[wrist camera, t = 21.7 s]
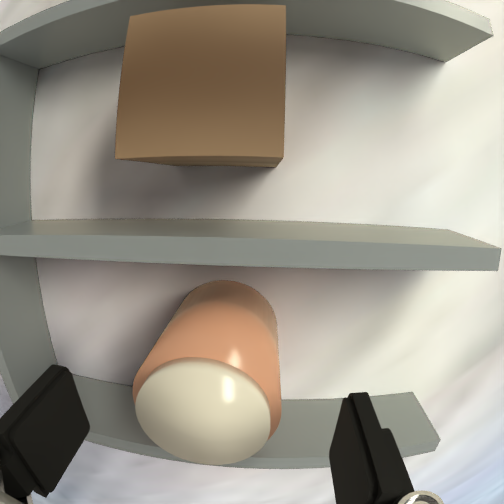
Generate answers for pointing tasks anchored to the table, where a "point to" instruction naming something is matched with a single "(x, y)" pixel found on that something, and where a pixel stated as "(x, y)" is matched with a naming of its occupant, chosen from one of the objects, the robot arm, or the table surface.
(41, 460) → the robot arm
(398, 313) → the table surface
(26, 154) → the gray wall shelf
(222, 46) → the walnut block
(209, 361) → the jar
